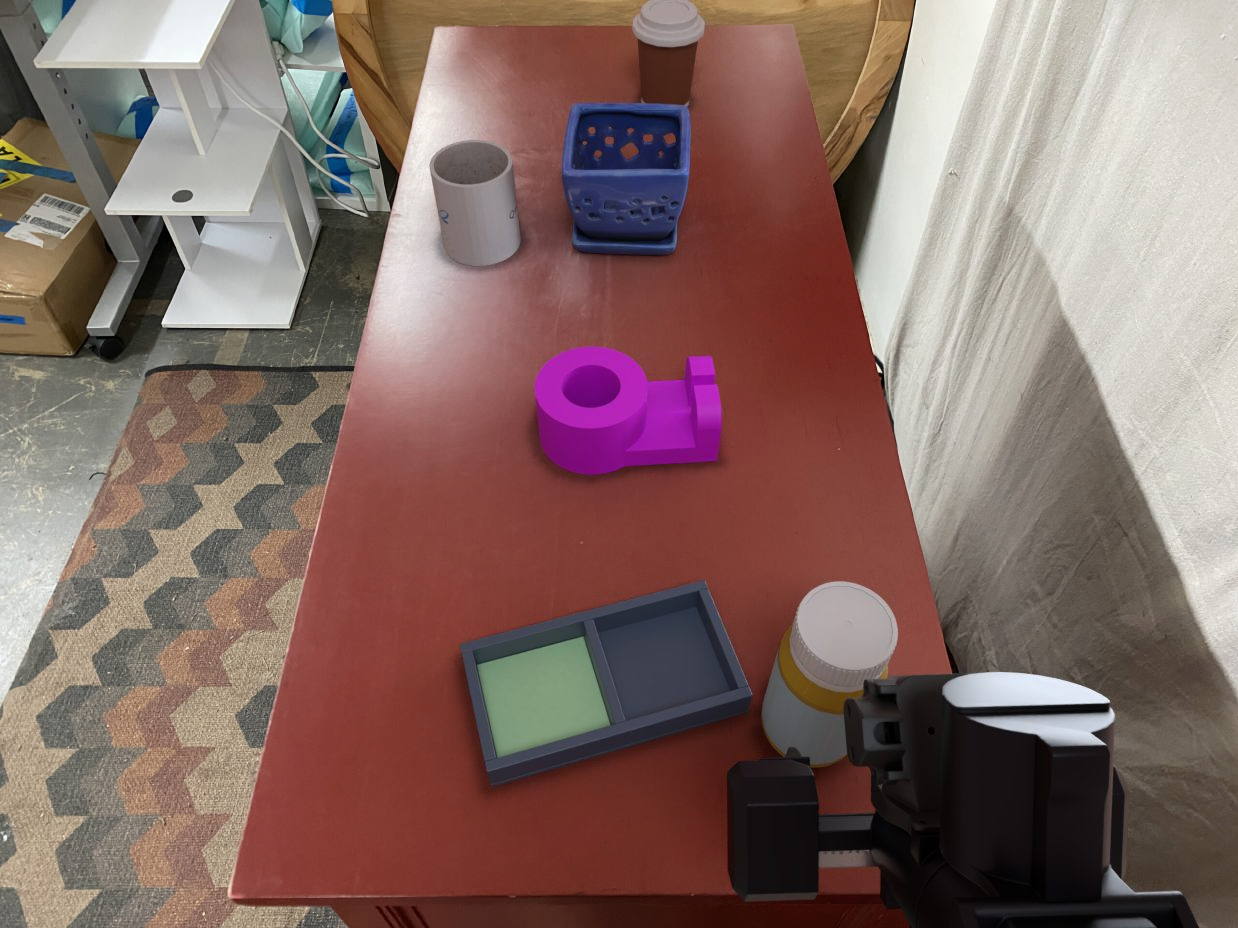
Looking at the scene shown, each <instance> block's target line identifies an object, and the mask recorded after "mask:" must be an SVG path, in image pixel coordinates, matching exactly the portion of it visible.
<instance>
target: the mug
mask: <svg viewBox="0 0 1238 928" xmlns="http://www.w3.org/2000/svg"><path fill="white" fill-rule="evenodd" d="M428 167H429V172H430V177H431V183H432V189H433V193H434V199H435V205H436V210H437V211H436V212H437V217H438V221H439V226H440V232H441V238H442V243H443V248H444V251H445V253H446V254H447V255H448V256H449V258H450V259H452V260H453V261H455V262H456V263H460V264H463V265H466V266H473V267H486V266H493V265H495V264H499V263H501V262H504V261H506V260H508V259H509V258H511V257H512V256H513V255H514V254H515V253H516V252H517V251H518V250H519V247H520V245H521V239H522V237H521V230H520V221H519V220H520V219H519V209H518V199H517V190H516V180H515V171H514V160H513V157H512V154H511V153H510V151H509V150H508V149H507V148H506V147H504V146H503V145H500V144H499V143H496V142H493V141H489V140H482V139H469V140H461V141H456V142H453V143H450V144H447V145H445V146H444V147H442V148H440V149H439V150H437V151H436V152H435V153H434V154H433V155H432V157H431V158H430V161H429V166H428Z"/></svg>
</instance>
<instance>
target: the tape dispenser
mask: <svg viewBox="0 0 1238 928" xmlns="http://www.w3.org/2000/svg"><path fill="white" fill-rule="evenodd" d="M715 380H716V370H715V365H714V360H713V357H712V356H711V355H698V356H686V359H685V368H684V379H672V380H655V381H648V380H647V375H646V374H645V372H644V370H643V369H642V367H641V365H639V363H637V362H636V361H635V360H634V359H633V358H632V357H630V356H629V355H627V354H626V353H624V352H621V351H619V350H616V349H613V348H609V347H604V346H603V347H602V346H581V347H576V348H571V349H568V350H565V351H563V352H560V353H559V354H556V355H555V356H553V357H552V358H550V359H549V360H548V361H547V362H546V363H545V364H544V365H543V366H542V367H541V369H540V370H539V371H538V373H537V376H536V379H535V382H534V396H535V397H534V398H535V408H536V416H537V427H538V437H539V443H540V446H541V449H542V450H543V452H544V454H545V455H546V456H547V457H548V459H549V460H550V461H551V462H552V463H554V464H555V465H557V466H558V467H560V468H561V469H563V470H566V471H568V472H572V473H576V474H582V475H590V476H591V475H603V474H609V473H612V472H614V471H618V470H620V469H623V468H624V467H633V466H637V467H638V466H651V465H654V466H655V465H673V464H688V463H691V464H692V463H705V462H718V458H719V457H718V455H719V448H720V441H721V435H722V434H721V432H722V425H723V423H722V422H723V421H722V420H723V419H722V418H723V417H722V414H723V413H722V403H721V396H720V392H719V387H718V386H719V385H718V384H716V383H715Z"/></svg>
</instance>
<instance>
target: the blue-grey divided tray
mask: <svg viewBox="0 0 1238 928" xmlns="http://www.w3.org/2000/svg"><path fill="white" fill-rule="evenodd" d="M459 646H460V652H461V658H462V661H463V667H464V671H465V675H466V681H467V685H468V690H469V695H470V699H471V704H472V709H473V714H474V718H475V724H476V728H477V733H478V738H479V743H480V746H481V747H480V748H481V751H482V757H483V761H484V766H485V770H486V774H487V777H488V781H489V784H490V787H491V788H495V787H498V786H501V785H505V784H509V783H512V782H515V781H519V780H522V779H525V778H529V777H533V776H536V775H539V774H542V773H547V772H549V771H553V770H556V769H560V768H563V767H567V766H569V765H573V764H576V763H577V764H578V763H580V762H584V761H587V760H591V759H594V758H598V757H602V756H605V755H607V754H611V753H614V752H618V751H622V750H625V749H628V748H631V747H635V746H639V745H642V744H645V743H650V742H652V741H656V740H659V739H662V738H666V737H669V736H673V735H676V734H679V733H682V732H687V731H689V730H690V731H691V730H693V729H697V728H700V727H704V726H707V725H711V724H714V723H717V722H721V721H724V720H728V719H730V718H734V717H738V716H741V715H744V714H748V713H750V712H749V711H750V707H751V702H752V699H753V693H752V690H751V688H750V686H749V682H748V681H747V678H746V675H745V673H744V671H743V668H742V666H741V664H740V661H739V659H738V656H737V654H736V652H735V649H734V647H733V644H732V642H731V639H730V637H729V635H728V633H727V630H726V627H725V625H724V623H723V620H722V618H721V615H720V614H719V611H718V607H717V606H716V604H715V602H714V599H713V597H712V594H711V591H710V589H709V587H708V584H707V582H706V579H703V580H698V581H694V582H690V583H686V584H682V585H679V586H675V587H672V588H667V589H664V590H660V591H657V592H652V593H649V594H645V595H641V596H636V597H633V598H630V599H626V600H622V601H618V602H615V603H611V604H606V605H603V606H600V607H595V608H592V609H588V610H585V611H579V612H576V613H572V614H568V615H564V616H561V617H557V618H553V619H549V620H545V621H541V622H539V623H535V624H530V625H527V626H523V627H519V628H515V629H511V630H508V631H504V632H500V633H496V634H492V635H489V636H485V637H480V638H477V639H473V640H469V641H466V642H465V641H464V642H461V643H459Z"/></svg>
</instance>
